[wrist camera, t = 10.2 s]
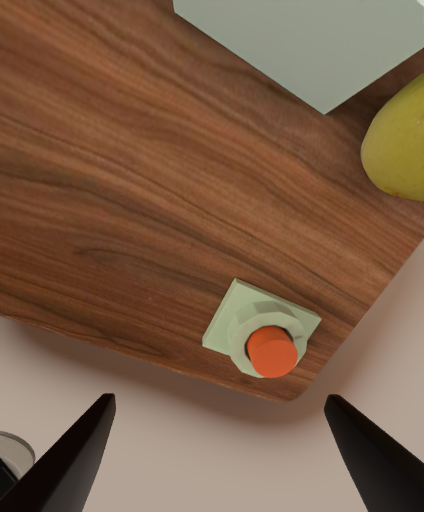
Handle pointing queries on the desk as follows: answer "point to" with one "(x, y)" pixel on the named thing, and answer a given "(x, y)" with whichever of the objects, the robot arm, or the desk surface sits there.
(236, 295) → the control block
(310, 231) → the desk surface
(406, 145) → the apple
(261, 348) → the button
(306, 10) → the right angle wall
